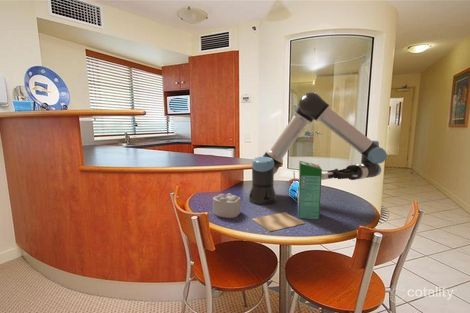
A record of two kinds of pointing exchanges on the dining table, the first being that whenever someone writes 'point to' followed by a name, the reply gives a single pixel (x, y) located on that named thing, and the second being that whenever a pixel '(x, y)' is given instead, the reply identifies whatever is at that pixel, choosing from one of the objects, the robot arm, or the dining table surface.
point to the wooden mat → (277, 221)
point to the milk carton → (309, 190)
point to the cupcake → (293, 180)
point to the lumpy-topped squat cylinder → (227, 205)
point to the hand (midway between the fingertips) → (321, 176)
